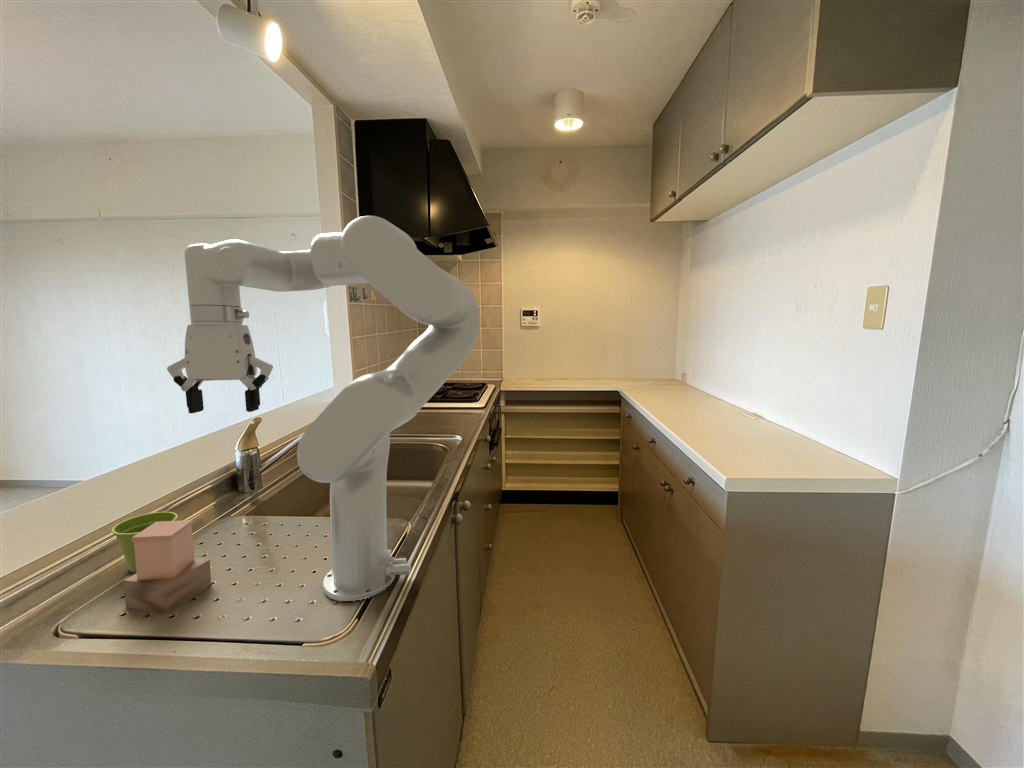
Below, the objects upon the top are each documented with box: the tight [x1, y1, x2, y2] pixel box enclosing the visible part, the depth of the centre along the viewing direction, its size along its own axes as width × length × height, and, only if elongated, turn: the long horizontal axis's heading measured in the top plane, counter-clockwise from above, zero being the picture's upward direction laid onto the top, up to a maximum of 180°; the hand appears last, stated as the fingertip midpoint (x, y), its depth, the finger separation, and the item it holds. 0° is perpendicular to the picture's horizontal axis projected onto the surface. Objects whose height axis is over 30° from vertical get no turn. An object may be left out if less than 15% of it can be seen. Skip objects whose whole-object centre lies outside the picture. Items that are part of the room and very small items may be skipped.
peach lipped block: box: [132, 519, 195, 580], centre depth 69 cm, size 6×6×7 cm
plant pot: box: [111, 511, 179, 573], centre depth 79 cm, size 9×9×9 cm
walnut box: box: [123, 557, 212, 615], centre depth 70 cm, size 8×8×5 cm
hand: (224, 411), depth 75 cm, fingers open, 9 cm apart
